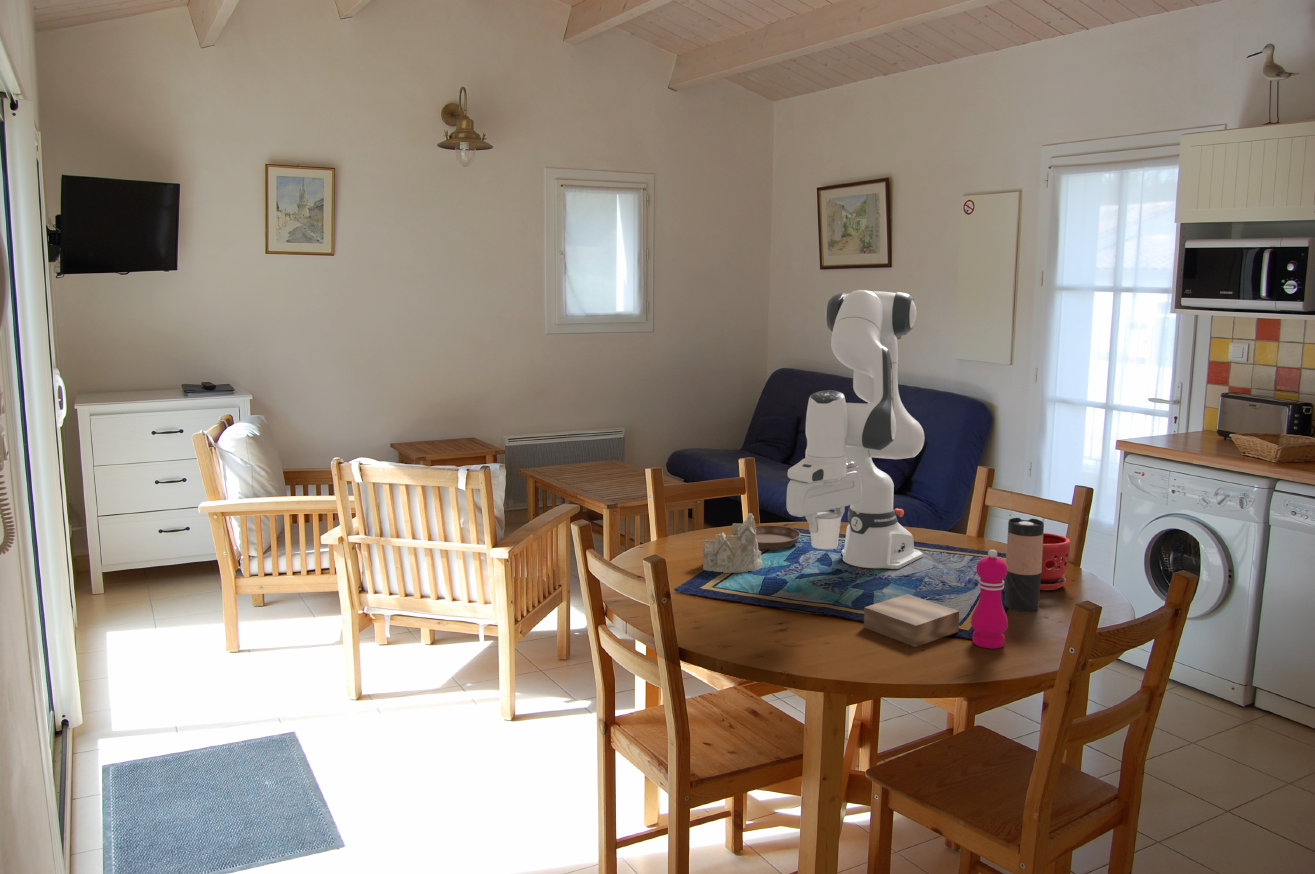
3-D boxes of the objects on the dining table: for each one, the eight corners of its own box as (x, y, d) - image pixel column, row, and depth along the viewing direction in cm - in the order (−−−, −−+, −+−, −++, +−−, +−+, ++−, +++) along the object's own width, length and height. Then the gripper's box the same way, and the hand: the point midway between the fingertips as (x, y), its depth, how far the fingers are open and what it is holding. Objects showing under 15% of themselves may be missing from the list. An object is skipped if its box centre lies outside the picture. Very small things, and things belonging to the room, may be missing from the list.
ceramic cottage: (765, 555, 265) (762, 502, 262) (760, 576, 249) (756, 519, 246) (708, 556, 268) (704, 503, 265) (699, 577, 252) (695, 521, 249)
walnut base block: (906, 615, 220) (907, 593, 219) (958, 633, 209) (959, 610, 208) (863, 629, 212) (864, 607, 211) (915, 648, 200) (916, 625, 200)
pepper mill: (964, 637, 205) (968, 545, 202) (997, 635, 206) (1002, 544, 202) (978, 650, 198) (982, 555, 195) (1013, 648, 199) (1018, 554, 195)
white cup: (840, 550, 209) (840, 519, 207) (807, 549, 210) (808, 517, 209) (841, 541, 215) (841, 511, 214) (809, 540, 217) (810, 509, 215)
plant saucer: (750, 554, 267) (750, 543, 266) (729, 538, 284) (729, 527, 283) (810, 549, 271) (810, 538, 271) (785, 533, 288) (785, 523, 288)
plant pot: (1075, 583, 238) (1078, 536, 236) (1054, 597, 229) (1057, 548, 227) (1023, 572, 247) (1025, 527, 245) (1001, 585, 238) (1003, 538, 236)
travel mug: (1022, 614, 218) (1027, 527, 215) (996, 604, 225) (1000, 519, 221) (1046, 608, 222) (1051, 523, 218) (1020, 598, 228) (1024, 515, 225)
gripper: (847, 458, 218) (846, 518, 221) (781, 471, 206) (781, 534, 209) (869, 462, 213) (868, 524, 216) (803, 476, 201) (802, 541, 204)
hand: (824, 529), depth 212 cm, fingers closed on white cup, 5 cm apart
